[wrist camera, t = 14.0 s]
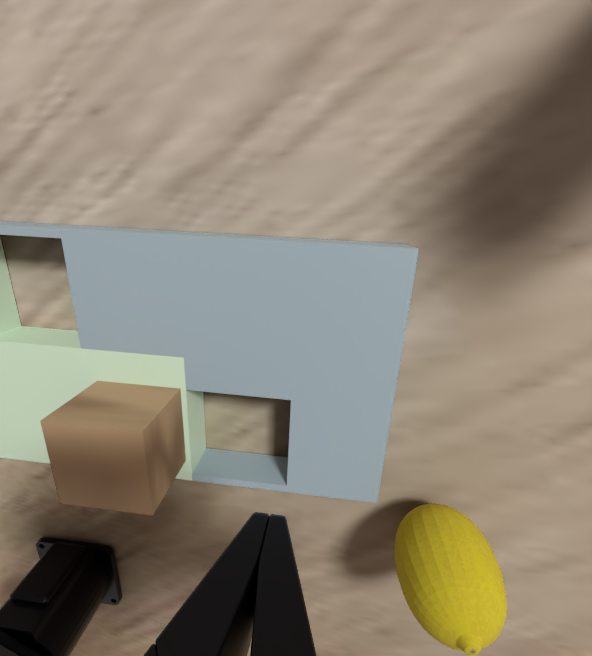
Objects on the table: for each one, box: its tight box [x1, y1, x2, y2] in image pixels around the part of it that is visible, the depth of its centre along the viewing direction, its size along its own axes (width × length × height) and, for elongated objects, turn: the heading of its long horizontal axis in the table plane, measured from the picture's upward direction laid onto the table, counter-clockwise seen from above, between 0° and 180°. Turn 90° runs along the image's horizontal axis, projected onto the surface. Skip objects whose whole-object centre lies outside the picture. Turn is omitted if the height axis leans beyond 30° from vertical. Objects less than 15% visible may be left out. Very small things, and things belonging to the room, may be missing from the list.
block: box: [40, 381, 186, 516], centre depth 18 cm, size 5×5×4 cm
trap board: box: [0, 221, 419, 503], centre depth 20 cm, size 15×27×3 cm, turn 87°
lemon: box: [394, 504, 507, 655], centre depth 19 cm, size 6×6×8 cm
